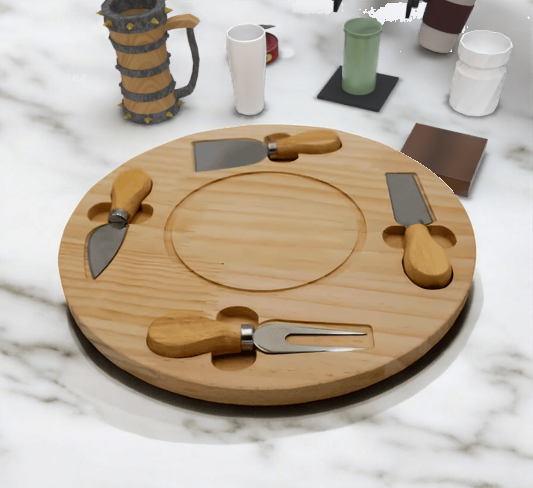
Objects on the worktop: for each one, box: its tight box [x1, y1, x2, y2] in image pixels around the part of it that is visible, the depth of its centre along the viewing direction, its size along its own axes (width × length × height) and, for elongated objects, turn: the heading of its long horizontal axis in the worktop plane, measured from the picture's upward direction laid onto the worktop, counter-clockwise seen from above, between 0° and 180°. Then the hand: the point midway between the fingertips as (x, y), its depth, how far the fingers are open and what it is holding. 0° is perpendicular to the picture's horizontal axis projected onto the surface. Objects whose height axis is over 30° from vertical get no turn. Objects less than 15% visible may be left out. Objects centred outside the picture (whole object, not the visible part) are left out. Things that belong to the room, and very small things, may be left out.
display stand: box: [399, 122, 489, 198], centre depth 105 cm, size 12×12×3 cm
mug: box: [96, 0, 201, 125], centre depth 114 cm, size 13×17×20 cm
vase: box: [448, 29, 514, 117], centre depth 114 cm, size 9×9×12 cm
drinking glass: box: [225, 22, 267, 116], centre depth 115 cm, size 7×7×15 cm
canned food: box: [258, 24, 280, 67], centre depth 132 cm, size 11×10×10 cm
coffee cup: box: [416, 0, 477, 54], centre depth 127 cm, size 10×10×15 cm
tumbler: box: [341, 16, 383, 95], centre depth 119 cm, size 7×7×12 cm
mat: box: [316, 64, 400, 113], centre depth 123 cm, size 12×12×1 cm
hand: (371, 8), depth 122 cm, fingers open, 13 cm apart
